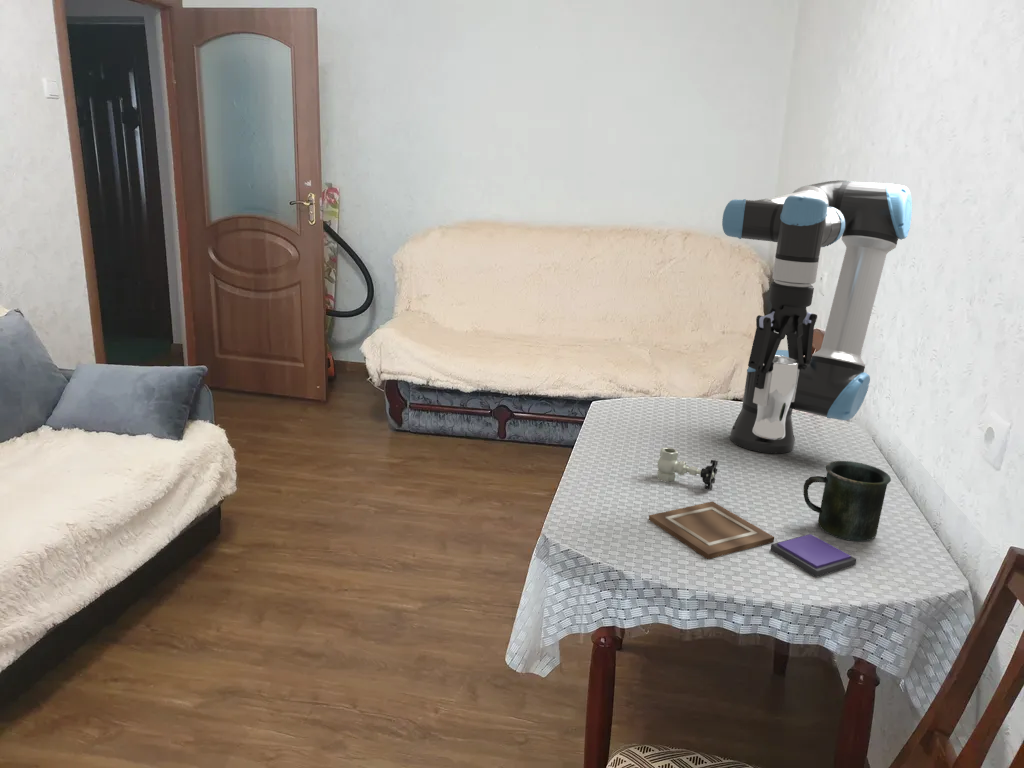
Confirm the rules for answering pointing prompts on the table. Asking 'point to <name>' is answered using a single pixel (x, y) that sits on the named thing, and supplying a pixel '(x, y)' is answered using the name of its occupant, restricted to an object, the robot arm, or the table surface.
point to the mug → (850, 499)
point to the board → (711, 529)
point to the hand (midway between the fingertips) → (773, 401)
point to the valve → (683, 468)
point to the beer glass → (777, 399)
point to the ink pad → (813, 555)
